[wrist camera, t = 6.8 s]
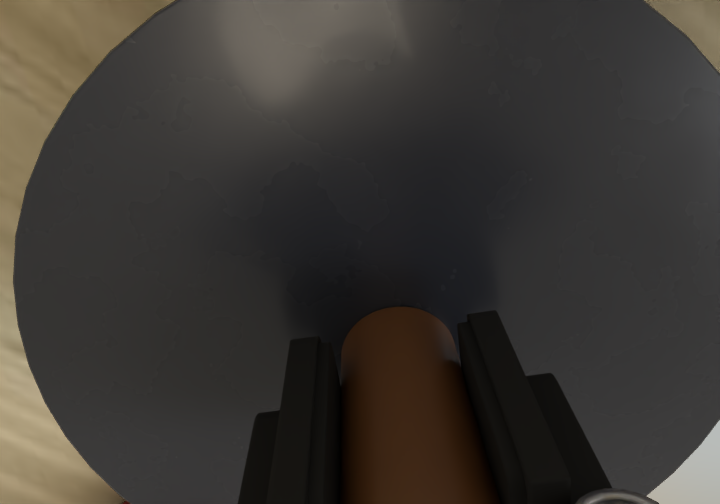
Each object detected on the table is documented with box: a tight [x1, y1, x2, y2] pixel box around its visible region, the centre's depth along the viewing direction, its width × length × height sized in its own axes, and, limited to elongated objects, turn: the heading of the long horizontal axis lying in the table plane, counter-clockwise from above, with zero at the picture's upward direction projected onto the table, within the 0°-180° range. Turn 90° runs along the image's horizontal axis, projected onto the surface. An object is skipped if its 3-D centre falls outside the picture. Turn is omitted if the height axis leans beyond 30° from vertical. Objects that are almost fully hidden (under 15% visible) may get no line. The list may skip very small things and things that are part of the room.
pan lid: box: [13, 0, 720, 504], centre depth 10 cm, size 16×16×6 cm
